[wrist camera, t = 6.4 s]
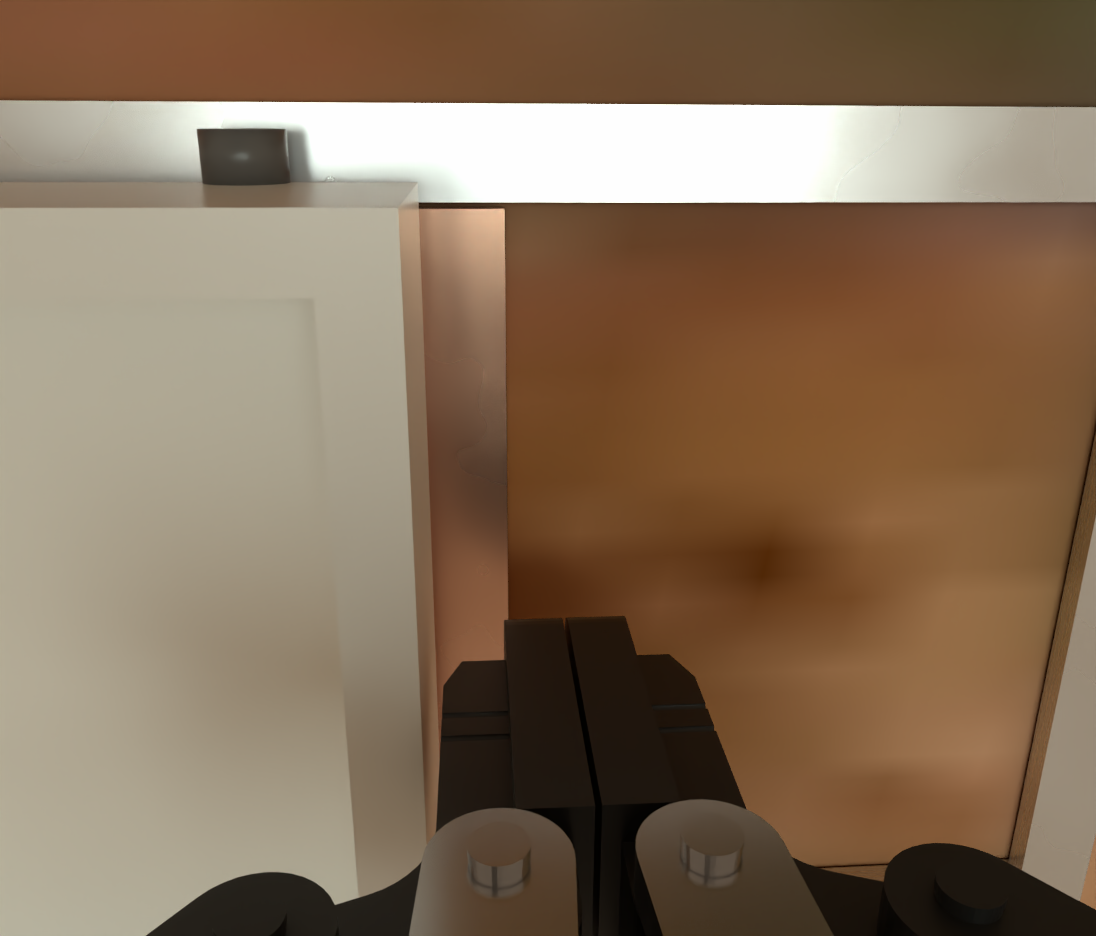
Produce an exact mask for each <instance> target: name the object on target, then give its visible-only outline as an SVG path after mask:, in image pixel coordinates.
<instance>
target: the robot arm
mask: <svg viewBox="0 0 1096 936" xmlns="http://www.w3.org/2000/svg"><path fill="white" fill-rule="evenodd" d="M146 936H1096V910H1095V909H1093V908H1091V907H1089V906H1087V905H1086V904H1084V903H1082V902H1080V901H1078V900H1076V899H1074V898H1073V897H1071V896H1069V895H1067V894H1065V893H1063V892H1061V891H1060V890H1058V889H1056V888H1054V887H1052V886H1050V885H1048V884H1047V883H1045V882H1043V881H1041V880H1039V879H1037V878H1035V877H1033V876H1032V875H1030V874H1028V873H1026V872H1024V871H1022V870H1020V869H1019V868H1017V867H1015V866H1013V865H1011V864H1009V863H1007V862H1006V861H1004V860H1002V859H999V858H997V857H995V856H993V855H991V854H988V853H986V852H983V851H980V850H977V849H974V848H970V847H966V846H961V845H955V844H945V843H932V844H922V845H918V846H914V847H911V848H908V849H906V850H904V851H902V852H900V853H899V854H898V855H896V856H895V857H894V858H893V859H892V860H891V861H890V863H889V864H888V866H887V868H886V871H885V875H884V882H883V881H878V880H873V879H868V878H863V877H858V876H853V875H847V874H842V873H837V872H832V871H828V870H824V869H820V868H817V867H814V866H811V865H809V864H806V863H803V862H801V861H799V860H797V859H795V858H793V857H791V855H790V853H789V851H788V849H787V847H786V845H785V843H784V842H783V840H782V839H781V837H780V835H779V834H778V833H777V832H776V830H775V829H774V828H773V827H772V826H771V825H770V824H769V823H767V822H766V821H765V820H763V819H762V818H761V817H759V816H757V815H756V814H754V813H752V812H751V811H748V810H747V809H746V807H745V804H744V802H743V799H742V796H741V794H740V791H739V789H738V786H737V784H736V781H735V779H734V776H733V773H732V771H731V768H730V766H729V763H728V761H727V758H726V755H725V753H724V750H723V748H722V745H721V743H720V740H719V738H718V735H717V732H716V731H714V725H713V722H712V720H711V717H710V714H709V712H708V709H705V702H704V699H703V697H702V694H701V691H700V689H699V686H698V684H697V681H696V679H695V676H693V675H692V674H691V673H690V672H689V671H688V670H686V669H685V668H684V667H683V666H682V665H681V664H680V663H678V662H677V661H676V660H675V659H674V658H673V657H671V656H670V655H669V654H663V655H637V654H636V651H635V648H634V644H633V641H632V638H631V634H630V631H629V628H628V624H627V621H626V618H625V617H624V616H606V617H573V618H566V620H565V630H564V625H563V620H562V618H546V619H513V620H504V660H486V661H462V662H461V663H460V665H459V666H458V667H457V668H456V670H455V671H454V672H453V674H452V675H451V676H450V678H449V679H448V680H447V682H446V683H445V684H444V685H443V703H442V722H441V742H440V761H439V781H438V800H437V820H436V832H435V835H434V836H433V837H432V838H431V839H430V841H429V843H428V844H427V846H426V848H425V851H424V854H423V857H422V861H421V863H420V864H419V865H418V866H417V867H416V868H415V869H414V870H413V871H411V872H410V873H409V874H408V875H407V876H405V877H404V878H402V879H401V880H399V881H398V882H396V883H394V884H392V885H390V886H388V887H386V888H384V889H382V890H380V891H377V892H374V893H371V894H369V895H366V896H362V897H359V898H356V899H353V900H349V901H346V902H343V903H340V904H336V905H335V904H334V902H333V901H332V899H331V897H330V895H329V894H328V893H327V892H326V891H325V890H324V889H323V888H322V887H321V886H319V885H318V884H317V883H315V882H314V881H311V880H309V879H307V878H305V877H302V876H299V875H295V874H291V873H283V872H263V873H255V874H249V875H245V876H241V877H237V878H234V879H232V880H229V881H226V882H224V883H221V884H219V885H217V886H215V887H213V888H211V889H209V890H208V891H206V892H205V893H203V894H202V895H200V896H199V897H197V898H196V899H194V900H193V901H192V902H190V903H189V904H188V905H186V906H185V907H184V908H182V909H181V910H180V911H178V912H177V913H176V914H174V915H173V916H172V917H170V918H169V919H168V920H166V921H165V922H163V923H162V924H161V925H159V926H158V927H157V928H155V929H154V930H153V931H151V932H150V933H149V934H147V935H146Z"/></svg>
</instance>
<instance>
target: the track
mask: <svg viewBox="0 0 1096 936" xmlns="http://www.w3.org/2000/svg"><path fill="white" fill-rule="evenodd" d="M205 128H275V129H286V130H287V142H288V155H289V167H290V180H291V182H418V202H1096V107H967V106H808V105H648V104H489V103H330V102H171V101H12V100H0V182H202V174H201V165H200V155H199V146H198V137H197V129H205ZM419 229H420V255H421V282H422V308H423V335H424V361H425V388H426V414H427V440H428V467H429V493H430V520H431V546H432V572H433V599H434V625H435V652H436V678H437V705H438V731H439V757H440V742H441V722H442V703H443V685H444V684H445V683H446V682H447V680H448V679H449V678H450V676H451V675H452V674H453V672H454V671H455V670H456V668H457V667H458V666H459V665H460V663H461V662H462V661H486V660H504V620H508V531H507V423H506V315H505V209H504V208H419ZM1095 835H1096V433H1095V438H1094V443H1093V448H1092V453H1091V458H1090V463H1089V468H1088V472H1087V477H1086V482H1085V487H1084V492H1083V497H1082V502H1081V507H1080V512H1079V517H1078V522H1077V527H1076V532H1075V537H1074V541H1073V546H1072V551H1071V556H1070V561H1069V566H1068V571H1067V576H1066V581H1065V586H1064V591H1063V596H1062V601H1061V606H1060V610H1059V615H1058V620H1057V625H1056V630H1055V635H1054V640H1053V645H1052V650H1051V655H1050V660H1049V665H1048V670H1047V675H1046V679H1045V684H1044V689H1043V694H1042V699H1041V704H1040V709H1039V714H1038V719H1037V724H1036V729H1035V734H1034V739H1033V744H1032V749H1031V753H1030V758H1029V763H1028V768H1027V773H1026V778H1025V783H1024V788H1023V793H1022V798H1021V803H1020V808H1019V813H1018V818H1017V822H1016V827H1015V832H1014V837H1013V842H1012V847H1011V852H1010V857H1009V859H1003V860H1004V861H1006V862H1007V863H1009V864H1011V865H1013V866H1015V867H1017V868H1019V869H1020V870H1022V871H1024V872H1026V873H1028V874H1030V875H1032V876H1033V877H1035V878H1037V879H1039V880H1041V881H1043V882H1045V883H1047V884H1048V885H1050V886H1052V887H1054V888H1056V889H1058V890H1060V891H1061V892H1063V893H1065V894H1067V895H1069V896H1071V897H1073V898H1074V899H1076V900H1078V901H1080V898H1081V894H1082V890H1083V885H1084V881H1085V877H1086V873H1087V869H1088V864H1089V860H1090V856H1091V852H1092V847H1093V843H1094V839H1095ZM887 866H888V865H878V866H857V867H836V868H820V869H824V870H828V871H832V872H837V873H842V874H847V875H853V876H858V877H863V878H868V879H873V880H878V881H883V882H884V875H885V871H886V868H887Z"/></svg>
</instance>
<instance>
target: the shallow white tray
mask: <svg viewBox="0 0 1096 936" xmlns="http://www.w3.org/2000/svg"><path fill="white" fill-rule="evenodd" d="M197 137H198V146H199V155H200V165H201V174H202V182H0V936H146V935H147V934H149V933H150V932H151V931H153V930H154V929H155V928H157V927H158V926H159V925H161V924H162V923H163V922H165V921H166V920H168V919H169V918H170V917H172V916H173V915H174V914H176V913H177V912H178V911H180V910H181V909H182V908H184V907H185V906H186V905H188V904H189V903H190V902H192V901H193V900H194V899H196V898H197V897H199V896H200V895H202V894H203V893H205V892H206V891H208V890H209V889H211V888H213V887H215V886H217V885H219V884H221V883H224V882H226V881H229V880H232V879H234V878H237V877H241V876H245V875H249V874H255V873H263V872H283V873H291V874H295V875H299V876H302V877H305V878H307V879H309V880H311V881H314V882H315V883H317V884H318V885H319V886H321V887H322V888H323V889H324V890H325V891H326V892H327V893H328V894H329V895H330V897H331V899H332V901H333V902H334V904H335V905H336V904H340V903H343V902H346V901H349V900H353V899H356V898H359V897H362V896H366V895H369V894H371V893H374V892H377V891H380V890H382V889H384V888H386V887H388V886H390V885H392V884H394V883H396V882H398V881H399V880H401V879H402V878H404V877H405V876H407V875H408V874H409V873H410V872H411V871H413V870H414V869H415V868H416V867H417V866H418V865H419V864H420V863H421V861H422V857H423V854H424V851H425V848H426V846H427V844H428V843H429V841H430V839H431V838H432V837H433V836H434V835H435V832H436V820H437V800H438V781H439V761H440V757H439V731H438V705H437V678H436V652H435V625H434V599H433V572H432V546H431V520H430V493H429V467H428V440H427V414H426V388H425V361H424V335H423V308H422V282H421V255H420V229H419V203H418V182H291V180H290V167H289V155H288V142H287V130H286V129H275V128H205V129H197Z"/></svg>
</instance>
